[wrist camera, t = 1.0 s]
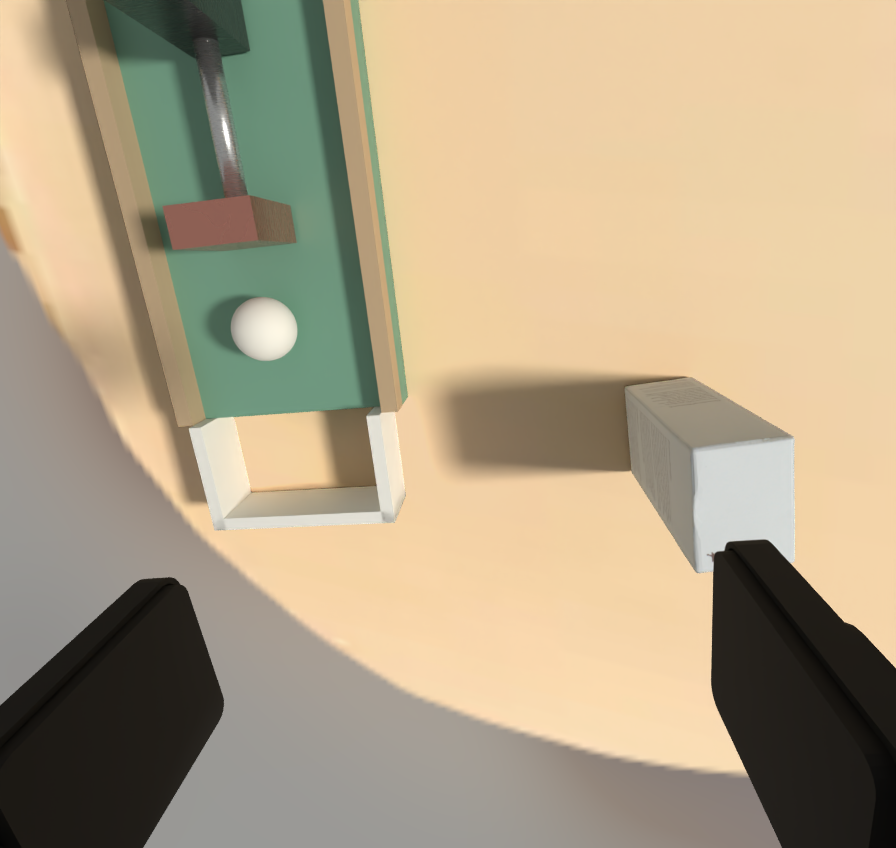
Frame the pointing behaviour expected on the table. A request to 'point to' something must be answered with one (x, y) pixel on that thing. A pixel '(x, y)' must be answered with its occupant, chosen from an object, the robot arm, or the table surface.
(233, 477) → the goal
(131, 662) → the robot arm
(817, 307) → the table surface
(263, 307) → the ball
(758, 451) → the skincare box
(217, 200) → the kicker rod
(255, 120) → the pitch board
